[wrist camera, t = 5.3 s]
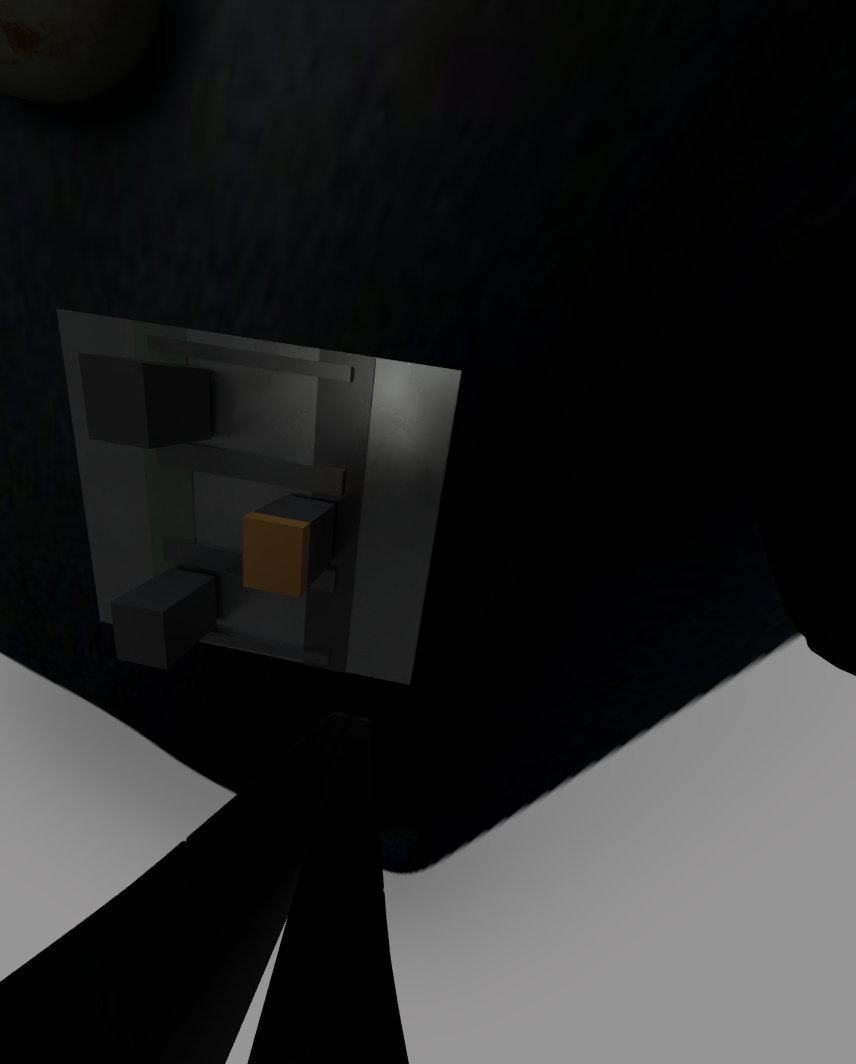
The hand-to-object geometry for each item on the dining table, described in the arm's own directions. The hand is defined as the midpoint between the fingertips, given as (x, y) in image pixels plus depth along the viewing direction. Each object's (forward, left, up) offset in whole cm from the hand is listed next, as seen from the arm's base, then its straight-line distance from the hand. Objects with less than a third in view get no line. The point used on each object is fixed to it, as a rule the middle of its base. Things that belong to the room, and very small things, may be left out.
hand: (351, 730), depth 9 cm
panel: (+9, 0, -12) cm, 15 cm away
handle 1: (+12, -5, -11) cm, 17 cm away
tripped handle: (+5, 0, -11) cm, 12 cm away
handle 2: (+12, +5, -11) cm, 17 cm away
